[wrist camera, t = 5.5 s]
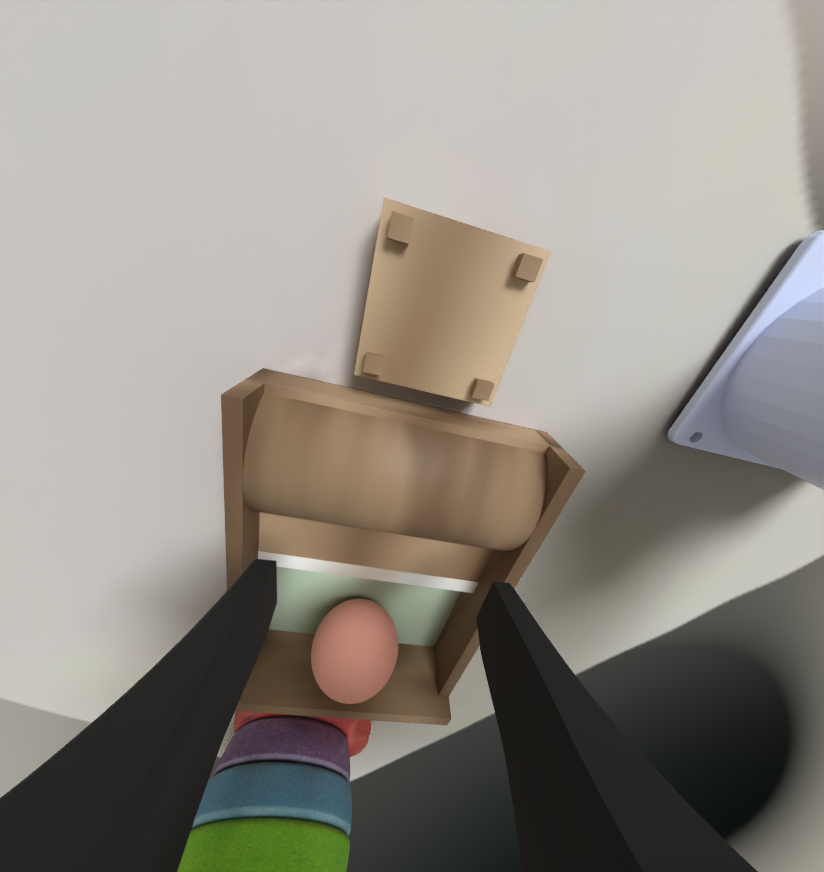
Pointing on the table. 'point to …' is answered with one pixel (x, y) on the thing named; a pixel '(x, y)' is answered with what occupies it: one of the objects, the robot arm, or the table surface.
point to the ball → (354, 651)
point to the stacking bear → (278, 797)
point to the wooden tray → (378, 529)
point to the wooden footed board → (444, 304)
